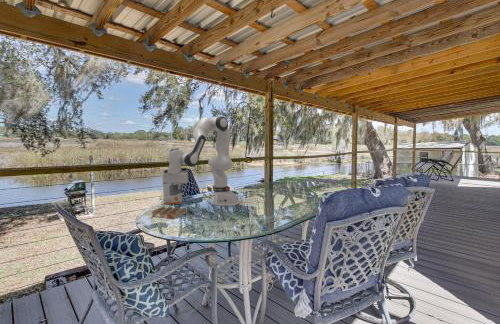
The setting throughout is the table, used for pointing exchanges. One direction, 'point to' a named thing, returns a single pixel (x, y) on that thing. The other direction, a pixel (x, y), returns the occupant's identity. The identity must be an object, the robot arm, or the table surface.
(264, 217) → the table surface
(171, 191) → the blanking panel
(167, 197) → the cracker box
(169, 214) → the rack
